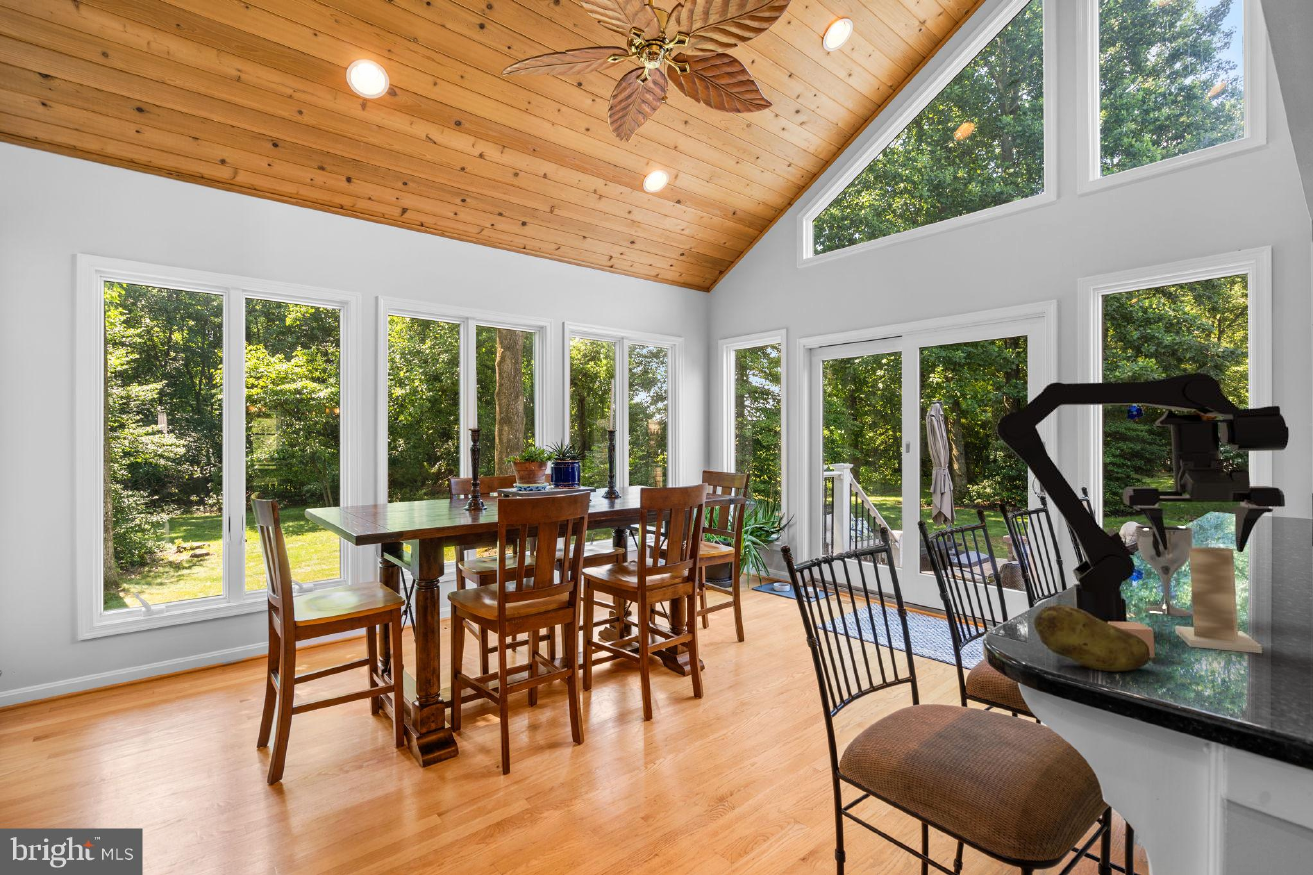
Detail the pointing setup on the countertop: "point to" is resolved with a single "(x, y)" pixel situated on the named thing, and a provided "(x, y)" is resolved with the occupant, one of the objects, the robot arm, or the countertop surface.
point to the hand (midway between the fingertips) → (1201, 550)
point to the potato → (1090, 640)
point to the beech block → (1213, 593)
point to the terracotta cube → (1138, 632)
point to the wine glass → (1165, 560)
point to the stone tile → (1218, 641)
